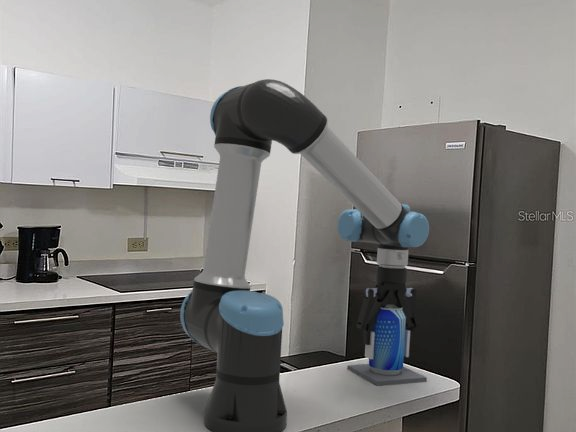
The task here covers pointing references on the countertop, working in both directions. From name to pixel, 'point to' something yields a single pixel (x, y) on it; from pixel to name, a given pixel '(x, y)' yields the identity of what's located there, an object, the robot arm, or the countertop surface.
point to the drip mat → (379, 379)
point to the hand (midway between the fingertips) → (386, 356)
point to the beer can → (389, 341)
